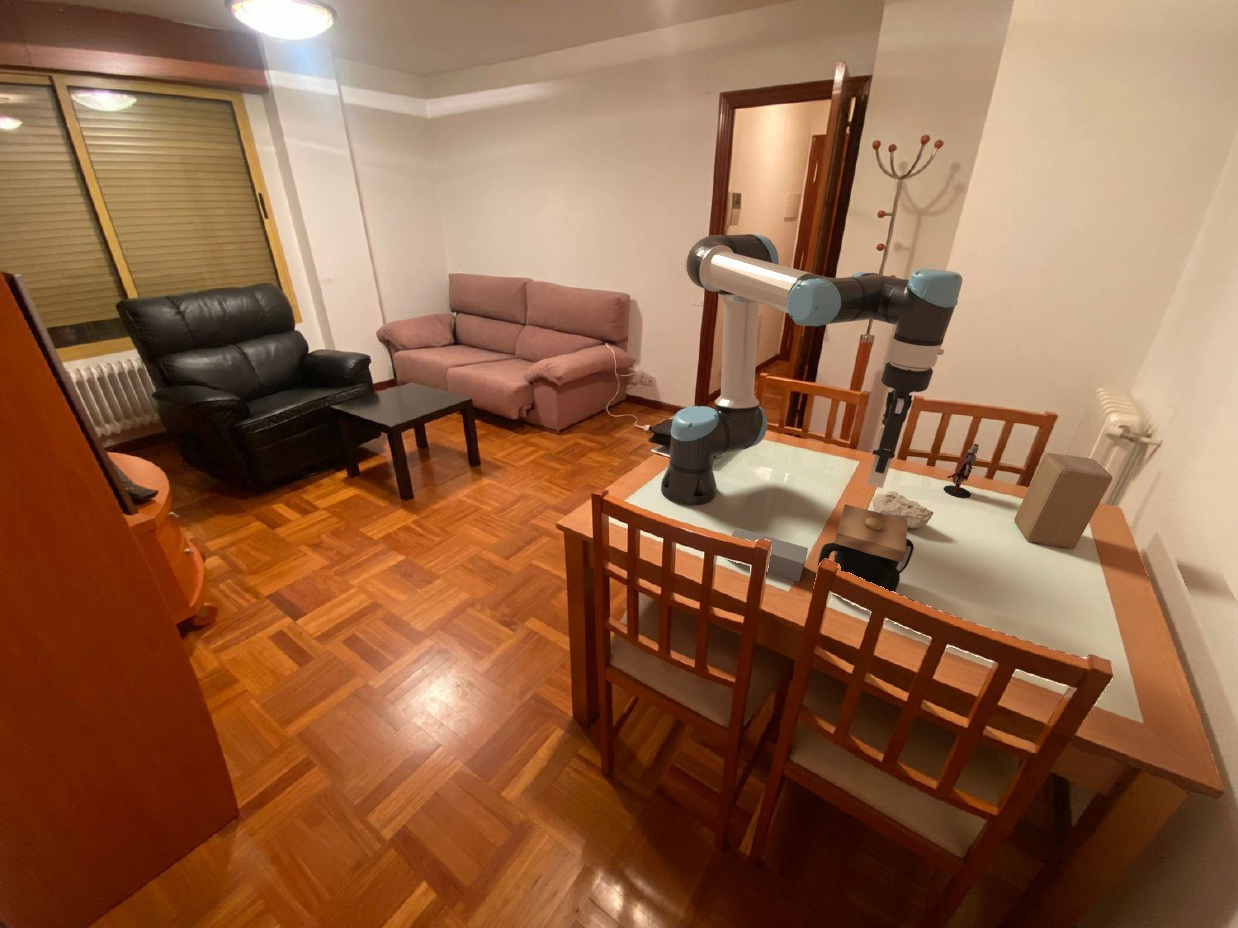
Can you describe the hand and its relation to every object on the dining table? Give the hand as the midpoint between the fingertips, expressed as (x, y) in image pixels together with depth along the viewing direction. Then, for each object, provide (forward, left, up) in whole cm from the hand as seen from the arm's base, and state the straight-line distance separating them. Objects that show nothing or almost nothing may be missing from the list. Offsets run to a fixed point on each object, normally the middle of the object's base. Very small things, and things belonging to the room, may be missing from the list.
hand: (877, 470), depth 98 cm
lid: (+2, -3, -13) cm, 14 cm away
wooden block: (+41, +38, -25) cm, 61 cm away
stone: (+9, +27, -26) cm, 38 cm away
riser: (-17, -6, -25) cm, 31 cm away
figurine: (+24, +51, -25) cm, 62 cm away
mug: (+2, -3, -25) cm, 26 cm away
